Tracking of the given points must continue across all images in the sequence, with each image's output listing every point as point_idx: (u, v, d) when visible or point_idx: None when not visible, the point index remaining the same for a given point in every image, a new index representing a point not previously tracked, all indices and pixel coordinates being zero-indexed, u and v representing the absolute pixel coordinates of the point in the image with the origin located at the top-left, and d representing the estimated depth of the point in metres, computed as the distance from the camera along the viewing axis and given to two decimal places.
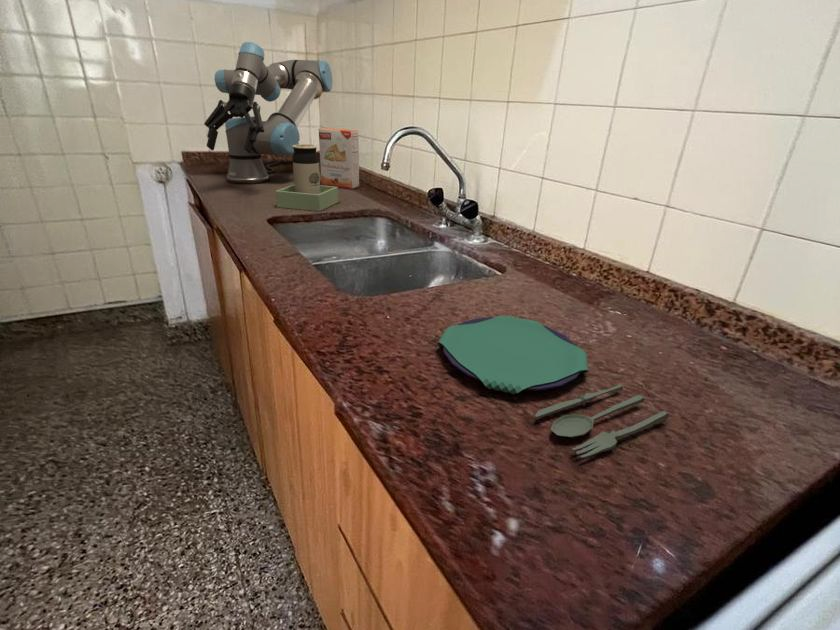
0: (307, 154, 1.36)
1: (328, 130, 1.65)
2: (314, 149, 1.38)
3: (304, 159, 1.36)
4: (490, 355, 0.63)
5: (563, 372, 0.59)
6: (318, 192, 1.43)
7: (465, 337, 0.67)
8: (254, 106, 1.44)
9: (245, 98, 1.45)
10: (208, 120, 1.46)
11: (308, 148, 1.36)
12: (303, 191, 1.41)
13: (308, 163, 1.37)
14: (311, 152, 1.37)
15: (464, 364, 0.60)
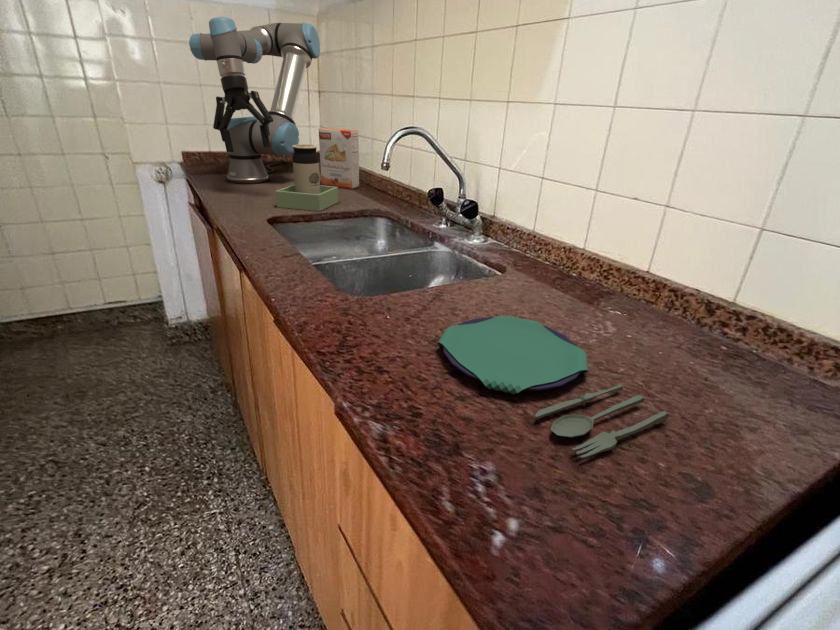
0: (307, 154, 1.36)
1: (328, 130, 1.65)
2: (314, 149, 1.38)
3: (304, 159, 1.36)
4: (490, 355, 0.63)
5: (563, 372, 0.59)
6: (318, 192, 1.43)
7: (465, 337, 0.67)
8: (253, 97, 1.38)
9: (240, 89, 1.38)
10: (215, 123, 1.44)
11: (308, 148, 1.36)
12: (303, 191, 1.41)
13: (308, 163, 1.37)
14: (311, 152, 1.37)
15: (464, 364, 0.60)
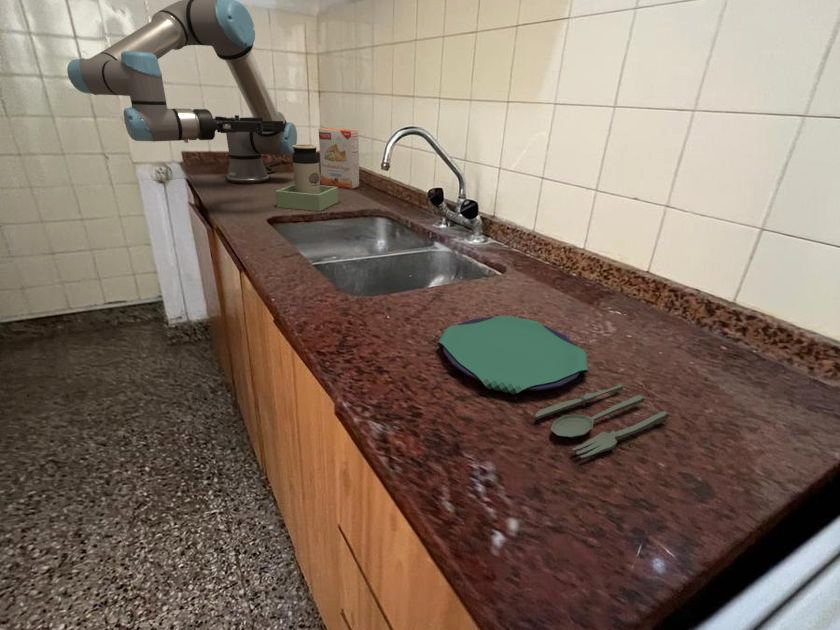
0: (307, 154, 1.36)
1: (328, 130, 1.65)
2: (314, 149, 1.38)
3: (304, 159, 1.36)
4: (490, 355, 0.63)
5: (563, 372, 0.59)
6: (318, 192, 1.43)
7: (465, 337, 0.67)
8: None
9: None
10: None
11: (308, 148, 1.36)
12: (303, 191, 1.41)
13: (308, 163, 1.37)
14: (311, 152, 1.37)
15: (464, 364, 0.60)
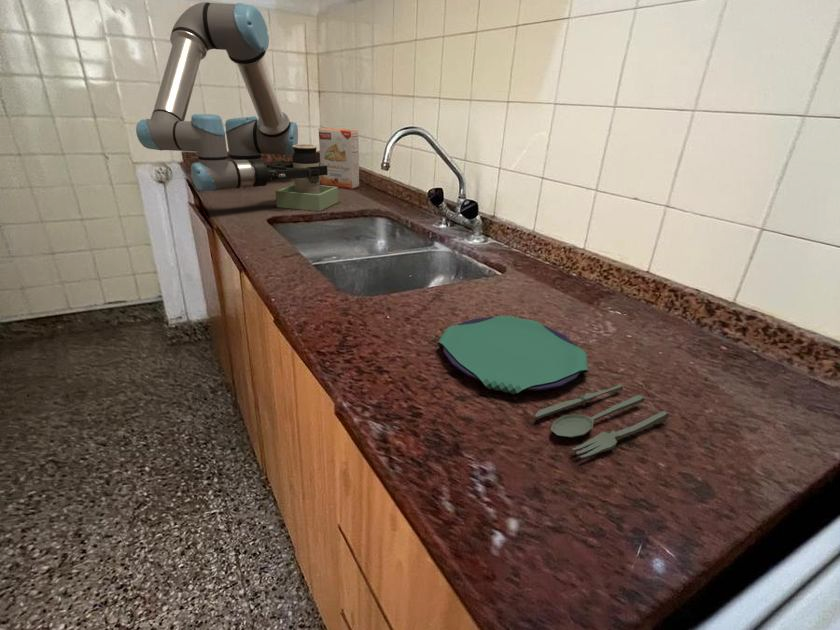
0: (307, 154, 1.36)
1: (328, 130, 1.65)
2: (314, 149, 1.38)
3: (304, 159, 1.36)
4: (490, 355, 0.63)
5: (563, 372, 0.59)
6: (318, 192, 1.43)
7: (465, 337, 0.67)
8: (284, 178, 1.32)
9: None
10: None
11: (308, 148, 1.36)
12: (303, 191, 1.41)
13: (308, 163, 1.37)
14: (311, 152, 1.37)
15: (464, 364, 0.60)
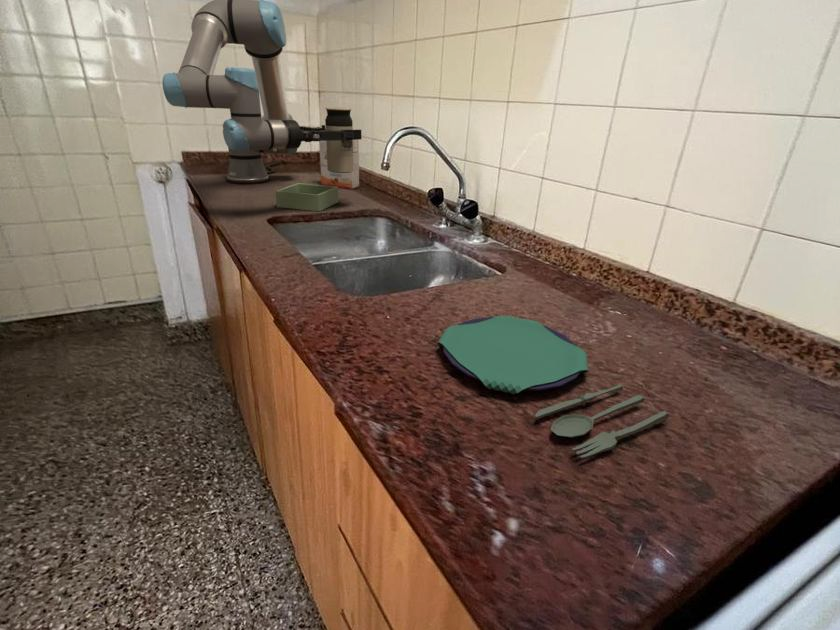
0: (341, 116, 1.30)
1: None
2: (348, 111, 1.31)
3: (338, 121, 1.30)
4: (490, 355, 0.63)
5: (563, 372, 0.59)
6: (351, 158, 1.37)
7: (465, 337, 0.67)
8: (318, 140, 1.26)
9: None
10: None
11: (342, 110, 1.29)
12: (335, 156, 1.34)
13: (342, 126, 1.31)
14: (345, 114, 1.31)
15: (464, 364, 0.60)
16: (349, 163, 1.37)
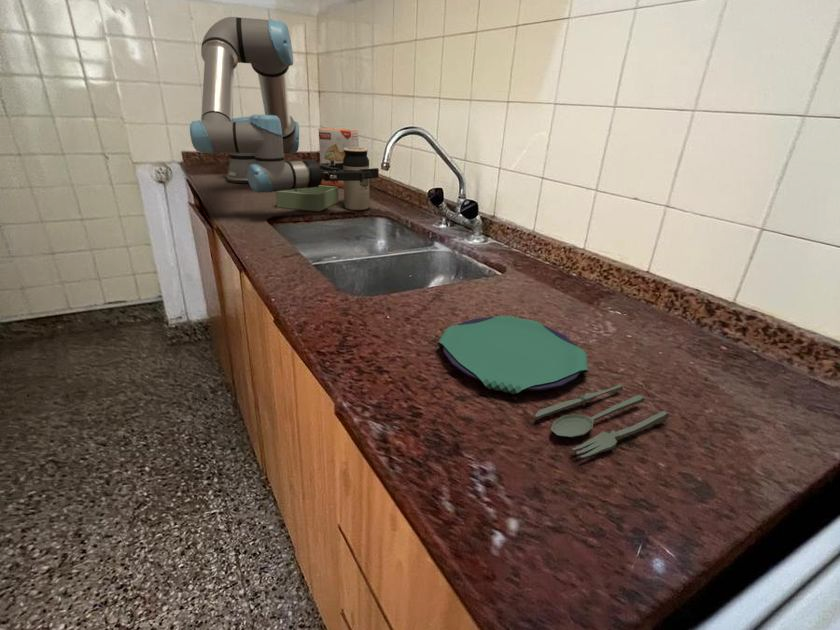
0: (359, 157, 1.35)
1: (328, 130, 1.65)
2: (365, 152, 1.36)
3: (356, 162, 1.35)
4: (490, 355, 0.63)
5: (563, 372, 0.59)
6: (367, 195, 1.42)
7: (465, 337, 0.67)
8: (336, 180, 1.29)
9: None
10: None
11: (360, 151, 1.34)
12: (353, 195, 1.39)
13: (359, 166, 1.36)
14: (363, 155, 1.36)
15: (464, 364, 0.60)
16: (365, 200, 1.41)
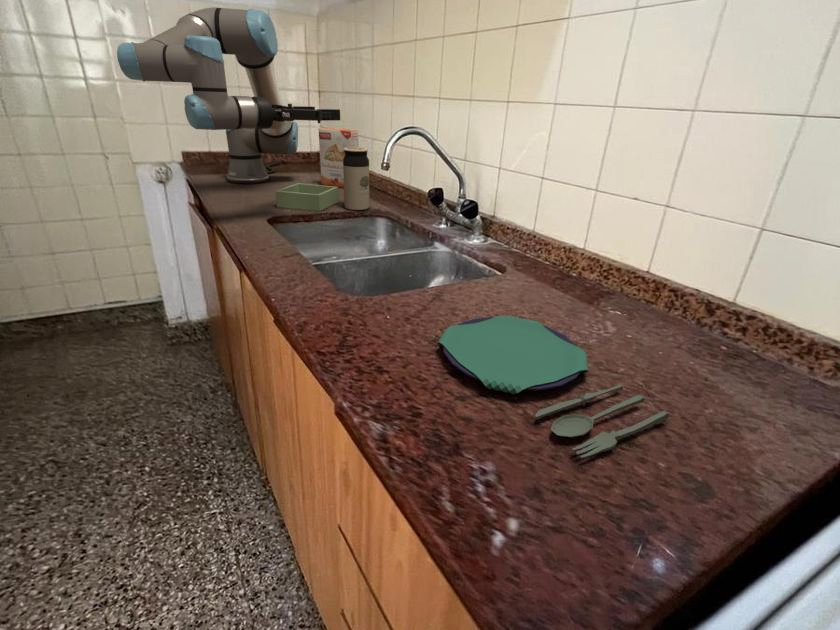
0: (359, 157, 1.35)
1: (328, 130, 1.65)
2: (365, 152, 1.36)
3: (356, 162, 1.35)
4: (490, 355, 0.63)
5: (563, 372, 0.59)
6: (367, 195, 1.42)
7: (465, 337, 0.67)
8: (289, 119, 1.14)
9: None
10: None
11: (360, 151, 1.34)
12: (353, 195, 1.39)
13: (359, 166, 1.36)
14: (363, 155, 1.36)
15: (464, 364, 0.60)
16: (365, 200, 1.41)
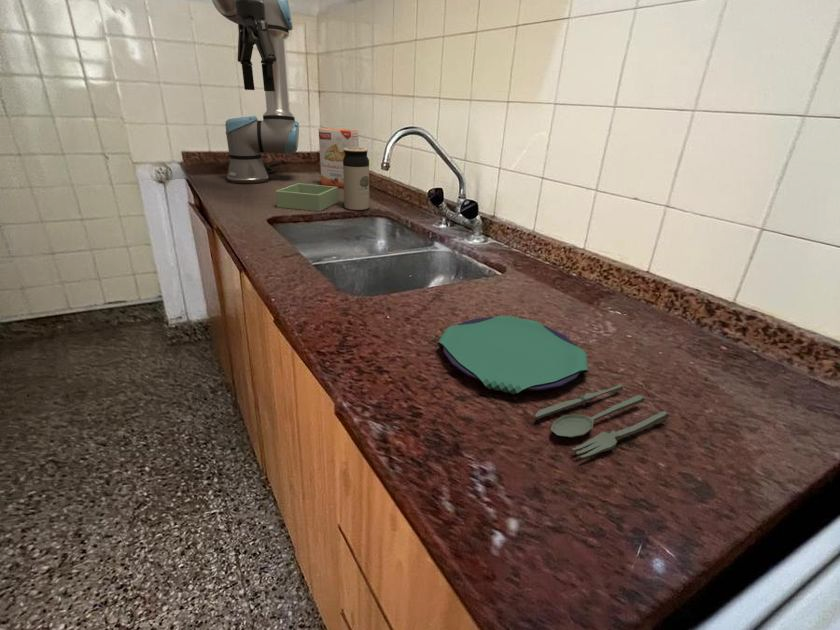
0: (359, 157, 1.35)
1: (328, 130, 1.65)
2: (365, 152, 1.36)
3: (356, 162, 1.35)
4: (490, 355, 0.63)
5: (563, 372, 0.59)
6: (367, 195, 1.42)
7: (465, 337, 0.67)
8: (258, 28, 1.17)
9: (251, 17, 1.18)
10: (238, 55, 1.30)
11: (360, 151, 1.34)
12: (353, 195, 1.39)
13: (359, 166, 1.36)
14: (363, 155, 1.36)
15: (464, 364, 0.60)
16: (365, 200, 1.41)
